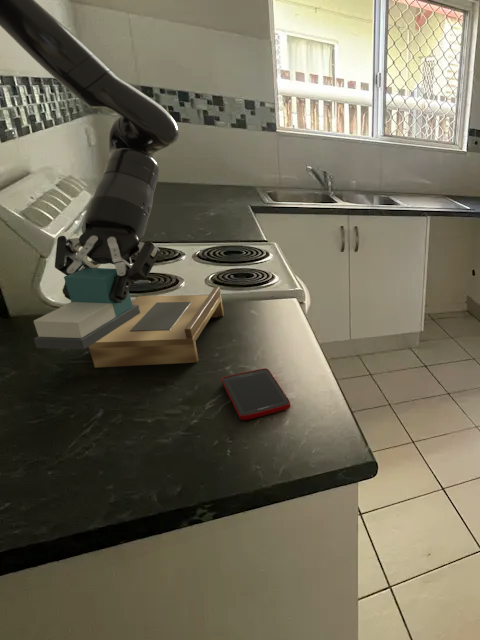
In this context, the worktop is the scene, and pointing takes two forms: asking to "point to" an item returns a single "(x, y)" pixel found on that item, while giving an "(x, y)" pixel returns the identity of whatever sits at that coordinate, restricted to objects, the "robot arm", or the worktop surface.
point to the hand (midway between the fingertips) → (93, 299)
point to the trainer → (84, 312)
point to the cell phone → (255, 394)
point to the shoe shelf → (159, 331)
